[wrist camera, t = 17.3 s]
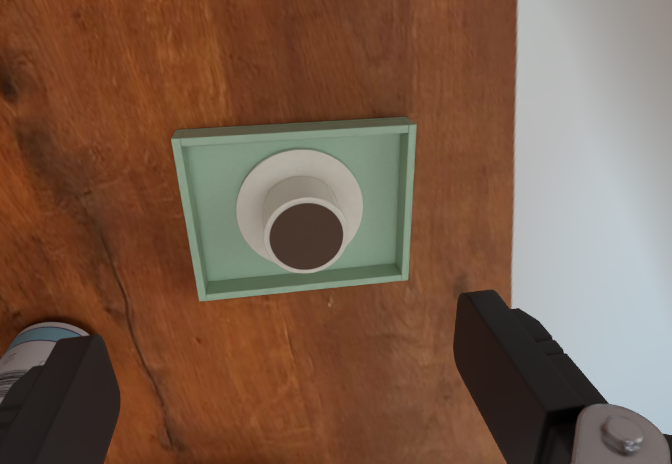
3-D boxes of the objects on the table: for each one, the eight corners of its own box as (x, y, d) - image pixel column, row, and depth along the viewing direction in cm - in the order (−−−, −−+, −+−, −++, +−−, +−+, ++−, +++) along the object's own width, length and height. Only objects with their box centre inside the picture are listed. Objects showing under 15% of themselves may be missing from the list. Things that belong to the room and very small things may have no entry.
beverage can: (10, 369, 41) (-73, 499, 31) (23, 305, 39) (-62, 422, 28) (95, 385, 43) (45, 512, 33) (113, 325, 41) (65, 441, 30)
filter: (362, 143, 37) (377, 164, 32) (361, 257, 41) (375, 290, 37) (228, 151, 35) (225, 175, 31) (243, 268, 40) (242, 304, 35)
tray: (406, 116, 37) (416, 124, 35) (399, 264, 43) (408, 280, 41) (175, 129, 35) (170, 139, 32) (202, 284, 41) (199, 301, 38)
